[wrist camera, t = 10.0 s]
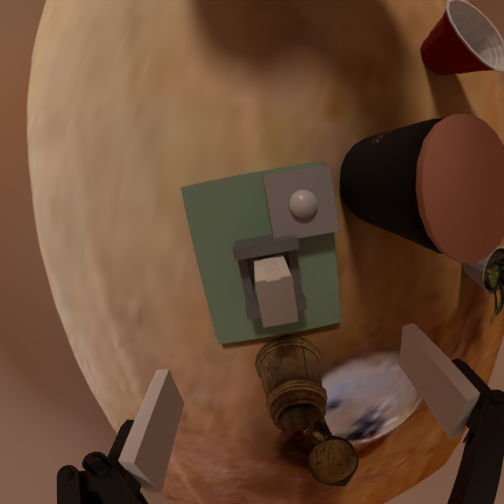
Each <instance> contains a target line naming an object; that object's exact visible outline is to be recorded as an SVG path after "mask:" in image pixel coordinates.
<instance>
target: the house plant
mask: <svg viewBox="0 0 504 504" xmlns="http://www.w3.org/2000/svg"><path fill="white" fill-rule="evenodd" d="M462 268H463V271H464V272H465V273H466V274H467V275H468V276H469V277H470V278H471V279H472V280H473V281H475V282H476V283H477V284H478V285H479V286H480V287H481V288H482V289H483V290H484V291H485V292H487V293H489V294H493V293H494V296H495V310H494V315H493V318H492V317H491V318H492V320H491V322H492V321H493V319H494V318H495V316H497V315H498V314H499V313H500V312H501V310H502V307H503V304H504V290H503V289H504V247H501V246H498V247H497V248H496V249H495V250H494V251H493V252H492V253H491V254H490V255H489V256H488V257H487V258H484V259H482V260H480V261H478V262H476V263H462ZM499 289H500V294H501V298H500V303H499V306H498V308H497V297H496V292H497V291H498V290H499ZM491 322H490V323H491ZM503 323H504V321H503ZM503 323H502V325H503ZM489 325H490V324H489ZM502 325H501V326H502Z"/></svg>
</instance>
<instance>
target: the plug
mask: <svg viewBox="0 0 504 504" xmlns="http://www.w3.org/2000/svg"><path fill="white" fill-rule="evenodd" d="M254 270H255V286H256V292H257V297H258V302H259V307H260V312H261V318H262V323H263V328H265V327H271V326H276V325H282V324H287V323H293V322H298V314H297V307H296V299H295V292H294V285H293V278H292V275H291V273H290V271H289V268H288V266H287V264H286V261H285V259H284V256H283V254H282V252H281V253H276V254H270V255H264V256H259V257H254Z"/></svg>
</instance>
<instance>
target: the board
mask: <svg viewBox="0 0 504 504" xmlns="http://www.w3.org/2000/svg"><path fill="white" fill-rule="evenodd" d="M181 191H182V196H183V201H184V205H185V210H186V215H187V219H188V224H189V228H190V233H191V237H192V242H193V246H194V250H195V254H196V259H197V263H198V267H199V271H200V275H201V279H202V283H203V287H204V291H205V294H206V298H207V302H208V306H209V310H210V313H211V317H212V321H213V324H214V328H215V331H216V335H217V338H218V342H219V344H225V343H232V342H239V341H246V340H252V339H259V338H265V337H271V336H276V335H282V334H287V333H293V332H298V331H303V330H308V329H313V328H318V327H322V326H327V325H331V324H336V323H340V322H341V310H340V295H339V282H338V271H337V260H336V251H335V242H334V233H333V232H337V231H339V225H338V217H337V209H336V202H335V195H334V188H333V182H332V176H331V170H330V165H327V166H324V165H323V162H318V163H310V164H303V165H296V166H290V167H283V168H277V169H271V170H265V171H259V172H254V173H248V174H243V175H238V176H232V177H227V178H223V179H218V180H213V181H208V182H204V183H199V184H195V185H190V186H186V187H182V188H181ZM281 252H282V254H283V256H284V259H285V261H286V264H287V266H288V268H289V271H290V273H291V275H292V278H293V285H294V292H295V299H296V307H297V314H298V322H293V323H287V324H282V325H276V326H271V327H265V328H263V323H262V318H261V312H260V307H259V302H258V297H257V292H256V286H255V270H254V257H259V256H264V255H270V254H276V253H281Z"/></svg>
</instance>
